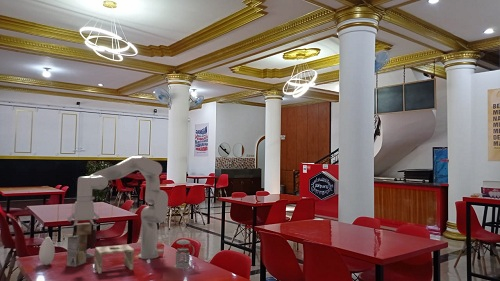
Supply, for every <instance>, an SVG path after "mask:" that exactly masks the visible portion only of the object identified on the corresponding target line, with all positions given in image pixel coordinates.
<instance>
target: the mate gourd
mask: <svg viewBox="0 0 500 281" xmlns="http://www.w3.org/2000/svg"><path fill="white" fill-rule="evenodd" d="M98 226H100V223H98V224H95V225H93V230H92V232H91V234H87V251H88V250H90V249H92V248H93V247H94V246H95V245H96V242H97V228H96V227H98ZM75 235H77V234H76V233H75V231H72V236H75ZM87 251H86V259H89V258H93V257H95V253H91V252H87Z"/></svg>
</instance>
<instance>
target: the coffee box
mask: <svg viewBox="0 0 500 281" xmlns="http://www.w3.org/2000/svg"><path fill="white" fill-rule="evenodd" d="M86 252H87V251H79V235H75V236H68V237H67V250H66V253H67V254H66V267H78V266H80V265H83V264H86V263H87V258H86Z"/></svg>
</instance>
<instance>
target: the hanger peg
mask: <svg viewBox="0 0 500 281" xmlns="http://www.w3.org/2000/svg"><path fill="white" fill-rule="evenodd" d="M90 223H91V222H83V223H82V222H81V223H80V222H79V223H77V224H76V225H77V233H76V234H77V235H79V251H86V252H87V251H88V250H87V234H91V224H90Z"/></svg>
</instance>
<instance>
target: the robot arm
mask: <svg viewBox="0 0 500 281" xmlns="http://www.w3.org/2000/svg"><path fill="white" fill-rule="evenodd" d="M136 171H139V172H140V174H141V175H142V176H143V177H144V179H145V184H146V185H145V193H144V195H145V196H144V201H145V202H146V204H148V205H149V206H145V207H144V208H142V210H141V212H140V219H141V241H140V242H141V243H140V244H141V245H140V253H139V254H138V255H137V257H138V259H140V260H141V259H144V260H152V259H157V258H159V256H160V255H159V254H163V253H165V250H164V249H159V248H157V246H158V245H157V244H158V239H157V238H158V224H161V223H164V222H165V220H166V219H167V214H168V207H169V206H168V203H169V197H168V193H167V192H166V191H164V190H161V189H160V188H161V185H160V183H161V182H160V177H159V176H160V175H161V174H162V172H163V166H162V165H161V163H160V162H158V161H155V160H153V159H150V158H148V157H146V156H140V155H139V156H136V155H135V156H129V157H128V158H126V159H124V160H122V161H120V162H118V163H117V164H115V165H112V166H109V167H106V168H103V169H100V170H97V171H96V172H94V173H92V174H90V175H88V176H79V177H78V178H77V187H76V188H77V191H76V201H75V202H74V205H73V213H72V214H71V215H70V216H68V217H67V221H68V222H70V224H71V225H73V228H72V229H73V231H75V233H77V225H76V224H78V222H79V221H80V222H81V221H90V222H89V223H90V224H91V232H92V230H93V226H94V224H95V223H96V222H97V221H98V220H99V218H100V215H98V214H97V213H96V212H95V207H94V206H95V205H94V201H93V200H96V197H95V196H93V190H104V189H105V188H107V187H108V184H109V181H112V180H118V179H123V178H124V177H126V176H128V175H129V174H131V173H133V172H136ZM150 205H152V206H150ZM153 205H154V206H153ZM72 218H73V220H74V221H73V220H72ZM73 231H72V232H73Z"/></svg>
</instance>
